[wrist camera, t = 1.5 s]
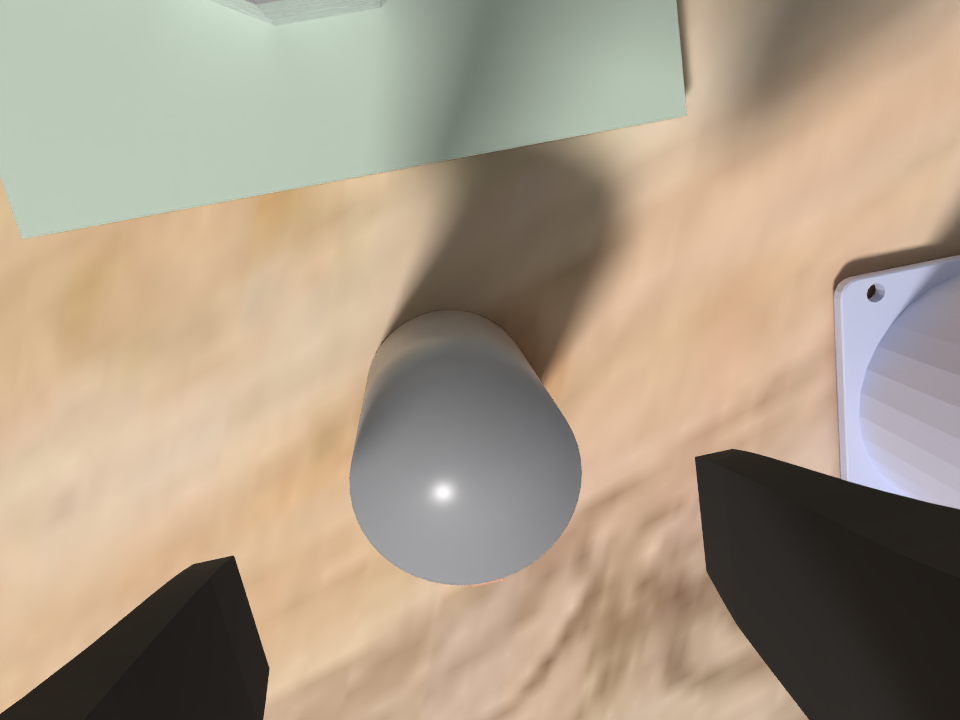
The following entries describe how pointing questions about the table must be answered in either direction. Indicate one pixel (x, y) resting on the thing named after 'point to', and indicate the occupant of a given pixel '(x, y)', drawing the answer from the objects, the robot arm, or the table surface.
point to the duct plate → (302, 95)
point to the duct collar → (298, 8)
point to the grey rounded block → (460, 453)
